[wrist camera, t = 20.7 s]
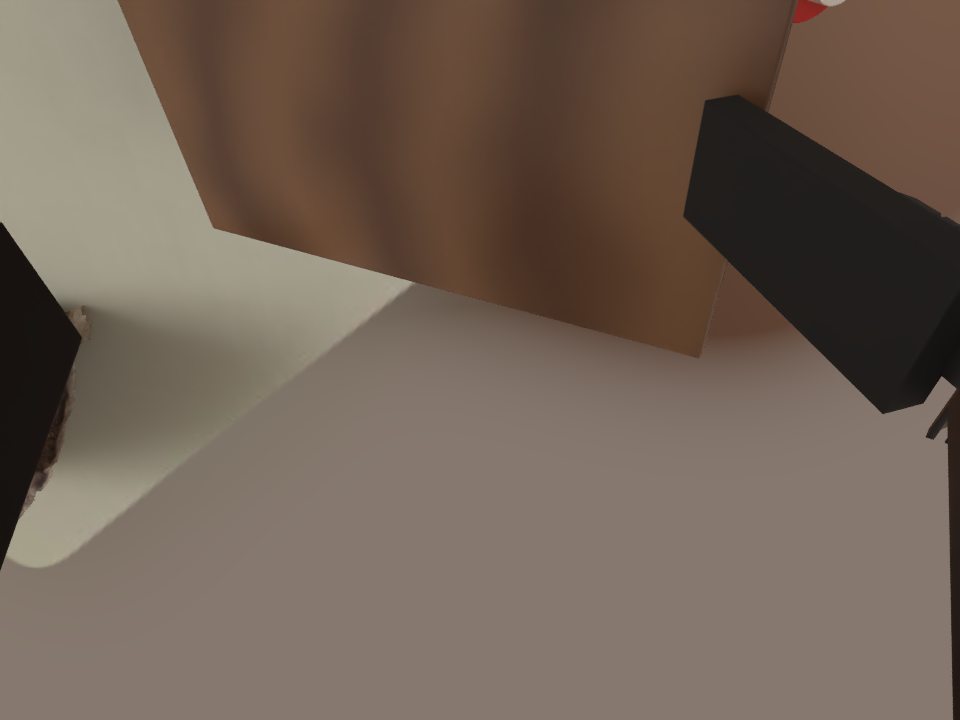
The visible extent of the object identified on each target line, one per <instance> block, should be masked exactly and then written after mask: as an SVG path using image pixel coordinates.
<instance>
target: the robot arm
mask: <svg viewBox="0 0 960 720" xmlns="http://www.w3.org/2000/svg"><path fill="white" fill-rule="evenodd" d="M683 217H684V218H685V219H686V220H687V221H688V222H689V223H690V224H691V225H692V226H693V227H694V228H695V229H696V230H697V231H698V232H699V233H700V234H701V235H702V236H703V237H704V238H705V239H706V240H707V241H708V242H709V243H710V244H711V245H712V246H713V247H714V248H715V249H716V250H717V251H718V252H719V253H720V254H721V255H722V256H723V257H725V258H726V259H727V260H728V261H729V262H730V263H731V264H732V265H733V266H734V267H735V268H736V269H737V270H738V271H739V272H740V273H741V274H742V275H743V276H744V277H745V278H746V279H747V280H748V281H749V282H750V283H751V284H752V285H753V286H754V287H755V288H756V289H757V290H758V291H759V292H760V293H761V294H762V295H763V296H764V297H765V298H766V299H767V300H768V301H769V302H770V303H771V304H772V305H773V306H774V307H775V308H776V309H777V310H778V311H779V312H780V313H781V314H782V315H783V316H784V317H785V318H786V319H787V320H788V321H789V322H790V323H791V324H792V325H793V326H794V327H795V328H796V329H797V330H798V331H799V332H800V333H802V335H803V336H804V337H805V338H806V339H808V341H809V342H811V344H812V345H814V346H815V347H816V348H817V349H818V350H819V351H820V352H821V353H822V354H823V355H824V356H825V357H826V358H827V359H828V360H829V361H830V362H831V363H832V364H833V365H834V366H835V367H836V368H837V369H838V370H839V371H840V372H841V373H842V374H843V375H844V376H845V377H846V378H847V379H848V380H849V381H850V382H851V383H852V384H853V385H854V386H855V387H856V388H857V389H858V390H859V391H860V392H861V393H862V394H863V395H864V396H865V397H866V398H867V399H868V400H869V401H870V402H871V403H872V404H873V405H874V406H875V407H876V408H877V409H878V410H879V411H880V412H881V413H882V414H885V413H889V412H893V411H896V410H900V409H904V408H908V407H911V406H915V405H919V404H922V403H924V402H925V400H926V398H927V397H928V395H929V394H930V393H931V391H932V389H933V388H934V386H935V385H936V384H937V382H938V381H939V379H940V378H941V376H942V377H944V378H945V379H946V380H947V381H948V382H950V383H951V384H952V385H953V386H954V387H955V388H957V389H956V391H955V392H954V394H953V395H952V397H951V398H950V399H949V401H948V402H947V404H946V405H945V407H944V408H943V409H942V411H941V412H940V414H939V415H938V416H937V418H936V419H935V421H934V422H933V424H932V425H931V427H930V428H929V430H928V433H927V435H926V438H930V439H934V438H935V437H936V435H937V434H938V433H939V431H940V430H941V429H943V428H946V427H948V438H947V439H946V441H945V443H947V444H948V473H949V475H948V477H949V523H950V524H949V526H950V527H949V529H950V575H951V576H950V580H951V581H950V582H951V632H952V633H951V634H952V681H953V682H952V686H953V720H960V225H959V224H958V223H956V222H954V221H953V220H951V219H949V218H948V217H941V213H940V212H938V211H936V210H935V209H933V208H931V207H930V206H928V205H926V204H925V203H923V202H921V201H920V200H918V199H916V198H913V197H911V196H908V195H905V194H902V193H899V192H897V191H895V190H893V189H892V188H890V187H888V186H887V185H885V184H884V183H882V182H880V181H879V180H877V179H875V178H874V177H872V176H871V175H869V174H867V173H866V172H864V171H862V170H861V169H859V168H857V167H856V166H854V165H853V164H851V163H849V162H848V161H846V160H844V159H843V158H841V157H839V156H838V155H836V154H834V153H833V152H831V151H830V150H828V149H826V148H825V147H823V146H822V145H820V144H818V143H816V142H815V141H813V140H811V139H810V138H808V137H807V136H805V135H803V134H802V133H800V132H799V131H797V130H795V129H794V128H792V127H790V126H789V125H787V124H786V123H784V122H782V121H781V120H779V119H777V118H776V117H774V116H772V115H771V114H769V113H768V112H766V111H764V110H763V109H761V108H759V107H758V106H756V105H755V104H753V103H751V102H750V101H748V100H746V99H745V98H743V97H741V96H740V95H732V96H726V97H721V98H715V99H709V100H705V103H704V109H703V114H702V119H701V124H700V130H699V135H698V140H697V145H696V151H695V156H694V161H693V166H692V172H691V177H690V182H689V187H688V193H687V198H686V203H685V208H684V214H683ZM81 340H82V336H81V335H80V334H79V332H78V331H77V329H76V328H75V326H74V325H73V324H72V322H71V321H70V319H69V318H68V316H67V315H66V314H65V312H64V311H63V309H62V308H61V306H60V305H59V304H58V302H57V301H56V299H55V298H54V296H53V295H52V294H51V292H50V291H49V289H48V288H47V286H46V285H45V284H44V282H43V281H42V279H41V278H40V276H39V275H38V274H37V272H36V271H35V269H34V268H33V266H32V265H31V264H30V262H29V261H28V259H27V258H26V256H25V255H24V254H23V252H22V251H21V249H20V248H19V246H18V245H17V244H16V242H15V241H14V239H13V238H12V236H11V235H10V234H9V232H8V231H7V229H6V228H5V226H4V225H3V224H2V222H1V223H0V570H1V567H2V564H3V561H4V558H5V556H6V553H7V550H8V547H9V544H10V541H11V539H12V536H13V533H14V530H15V527H16V524H17V522H18V519H19V516H20V513H21V510H22V507H23V505H24V502H25V499H26V496H27V493H28V490H29V488H30V485H31V482H32V479H33V476H34V473H35V471H36V468H37V465H38V462H39V459H40V456H41V454H42V451H43V448H44V445H45V442H46V439H47V437H48V434H49V431H50V428H51V425H52V422H53V420H54V417H55V414H56V411H57V408H58V405H59V403H60V400H61V397H62V394H63V391H64V388H65V386H66V383H67V380H68V377H69V374H70V371H71V369H72V366H73V363H74V360H75V357H76V354H77V352H78V349H79V346H80V343H81Z"/></svg>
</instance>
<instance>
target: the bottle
mask: <svg viewBox="0 0 960 720" xmlns="http://www.w3.org/2000/svg"><path fill="white" fill-rule="evenodd" d="M844 1H845V0H798V4H797V8H796V11H795V15H794V19H793V23H800V22H803V21H807V20H809V19H811V18H813V17H815V16H816V15H818V14H819V13H821V12H822V11H823V10H824V9H826V8H827V7H828V6H835V5H838V4H840V3H842V2H844Z"/></svg>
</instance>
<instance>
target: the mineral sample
mask: <svg viewBox="0 0 960 720" xmlns="http://www.w3.org/2000/svg"><path fill="white" fill-rule="evenodd" d="M82 307H83V306H81V307H79V308H76V309H74V310H72V311H69V312H67V313H65V314H66V315H67V316H68V318H69V319H70V321H71V322H72V324H73V325H74V326H75V328H76V329H77V331H78V332H79V334H80V335H81V336H82V340H81V343H82V342H84V341H85V340H90V338H88V337H89V335H90V327H91V324H92V322H87V321H86V320H85V318H86V316H87V315H82V311H81V308H82ZM81 343H80V344H81ZM74 367H75V360H74V363H73V366H72V369H71V371H70V374H69V377H68V380H67V383H66V386H65V388H64V391H63V394H62V397H61V400H60V403H59V405H58V408H57V411H56V414H55V417H54V420H53V422H52V425H51V428H50V431H49V434H48V437H47V439H46V442H45V445H44V448H43V451H42V454H41V456H40V459H39V462H38V465H37V468H36V471H35V473H34V476H33V479H32V482H31V485H30V488H29V490H28V493H27V496H26V499H25V502H24V505H23V507H22V510H21V513H20V516H19V518H20V517H21V516H22V515H23V513H24V512H25V511H26V510H27V509H28V507H29V506H30V505H31V504H32V502H33V501H34V498H33V497H35V494H36V491H41V490H42V489H43V488H44V487H45V486H46V484H47V483H48V481H49V479H50V477H51V475H52V472H53V470H51V468H52V466H53V465H54V464H55V463H56V462H57V460H58V456H59V453H60V450H61V446H62V444H63V441H64V436H65V430H66V425H65V424H66V422H67V419H68V417H69V416H70V413H71V410H72V407H73V405H74V403H75V397H74V388H75V382H74V380H75V374H76V371H75V368H74ZM18 520H19V519H18Z"/></svg>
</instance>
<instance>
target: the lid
mask: <svg viewBox="0 0 960 720" xmlns="http://www.w3.org/2000/svg"><path fill="white" fill-rule="evenodd" d="M118 2H119V4H120V7H121V9H122V12H123V14H124V16H125V19H126V21H127V23H128V26H129V28H130V31H131V33H132V35H133V38H134V40H135V43H136V45H137V47H138V50H139V52H140V54H141V57H142V59H143V62H144V64H145V66H146V69H147V71H148V73H149V76H150V78H151V81H152V83H153V85H154V88H155V90H156V93H157V95H158V97H159V100H160V102H161V104H162V107H163V109H164V112H165V114H166V116H167V119H168V121H169V123H170V126H171V128H172V131H173V133H174V135H175V138H176V140H177V143H178V145H179V147H180V150H181V152H182V154H183V157H184V159H185V162H186V164H187V166H188V169H189V171H190V173H191V176H192V178H193V181H194V183H195V185H196V188H197V190H198V193H199V195H200V197H201V200H202V202H203V204H204V207H205V209H206V212H207V214H208V216H209V219H210V221H211V223H212V226H213V228H215V229H219V230H223V231H226V232H230V233H234V234H238V235H241V236H245V237H249V238H252V239H256V240H260V241H264V242H267V243H271V244H275V245H278V246H282V247H286V248H290V249H293V250H297V251H301V252H305V253H308V254H312V255H316V256H319V257H323V258H327V259H331V260H334V261H338V262H342V263H345V264H349V265H353V266H357V267H360V268H364V269H368V270H372V271H375V272H379V273H383V274H386V275H390V276H394V277H398V278H401V279H405V280H409V281H412V282H416V283H420V284H424V285H427V286H432V287H435V288H439V289H442V290H446V291H450V292H453V293H457V294H461V295H465V296H468V297H472V298H476V299H479V300H484V301H487V302H491V303H495V304H498V305H502V306H506V307H509V308H513V309H517V310H520V311H524V312H528V313H532V314H536V315H539V316H543V317H547V318H550V319H554V320H558V321H561V322H565V323H569V324H573V325H576V326H580V327H584V328H588V329H592V330H595V331H599V332H602V333H606V334H610V335H614V336H617V337H621V338H625V339H628V340H632V341H636V342H640V343H643V344H648V345H651V346H655V347H658V348H662V349H666V350H670V351H674V352H677V353H681V354H684V355H688V356H692V357H695V358H700V357H701V356H702V352H703V350H704V347H705V344H706V341H707V337H708V334H709V330H710V326H711V323H712V319H713V315H714V311H715V308H716V304H717V300H718V297H719V293H720V289H721V286H722V282H723V278H724V274H725V271H726V267H727V263H728V260H727V259H726V258H725V257H723V256H722V255H721V254H720V253H719V252H718V251H717V250H716V249H715V248H714V247H713V246H712V245H711V244H710V243H709V242H708V241H707V240H706V239H705V238H704V237H703V236H702V235H701V234H700V233H699V232H698V231H697V230H696V229H695V228H694V227H693V226H692V225H691V224H690V223H689V222H688V221H687V220H686V219H685V218H684V217H683V214H684V208H685V203H686V198H687V193H688V187H689V182H690V177H691V172H692V166H693V161H694V156H695V151H696V145H697V140H698V135H699V130H700V124H701V119H702V114H703V109H704V103H705V100H709V99H715V98H721V97H726V96H732V95H740V96H741V97H743V98H745V99H746V100H748V101H750V102H751V103H753V104H755V105H756V106H758V107H759V108H761V109H763V110H764V111H766V112H768V111H769V108H770V104H771V100H772V97H773V93H774V89H775V85H776V82H777V78H778V74H779V70H780V67H781V63H782V60H783V56H784V52H785V48H786V45H787V41H788V37H789V34H790V30H791V26H792V23H793V19H794V15H795V11H796V8H797V4H798V0H118Z"/></svg>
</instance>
